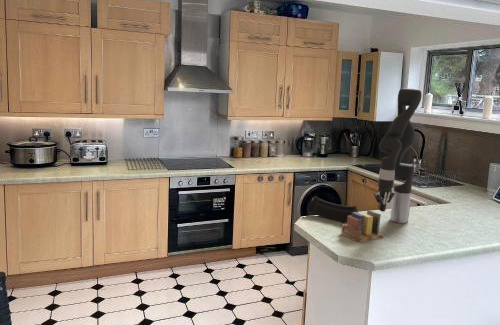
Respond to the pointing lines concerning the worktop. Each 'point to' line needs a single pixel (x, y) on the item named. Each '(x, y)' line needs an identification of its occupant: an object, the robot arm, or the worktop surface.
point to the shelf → (358, 234)
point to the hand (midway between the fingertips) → (382, 211)
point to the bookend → (375, 221)
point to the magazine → (330, 210)
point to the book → (367, 224)
